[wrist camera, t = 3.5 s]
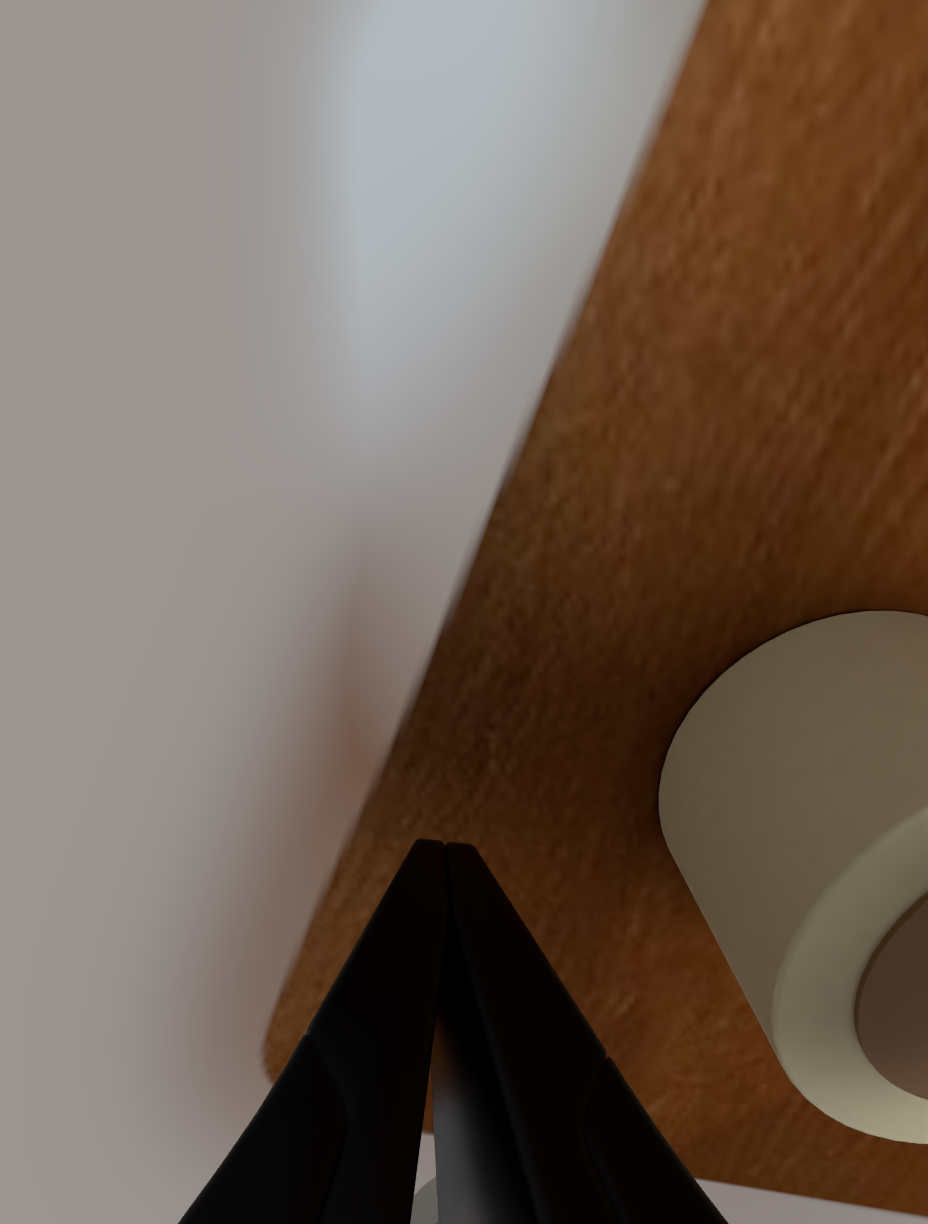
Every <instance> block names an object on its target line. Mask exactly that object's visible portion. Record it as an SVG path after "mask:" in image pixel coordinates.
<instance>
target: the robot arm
mask: <svg viewBox="0 0 928 1224" xmlns="http://www.w3.org/2000/svg"><path fill="white" fill-rule="evenodd" d="M606 1054H607V1053H606V1050H605V1048H604V1047H603V1045H602V1044H601V1042H600V1040H599V1039H598V1037H597V1036H596V1034H595V1033H594V1031H593V1030H592V1028H591V1026H590V1025H589V1023H588V1022H587V1020H586V1019H585V1017H584V1016H583V1014H582V1012H581V1011H580V1009H579V1008H578V1006H577V1005H576V1003H575V1002H574V1000H573V998H572V997H571V995H570V994H569V992H568V991H567V989H566V988H565V986H564V984H563V983H562V981H561V980H560V978H559V977H558V975H557V974H556V972H555V970H554V969H553V967H552V966H551V964H550V963H549V961H548V960H547V958H546V957H545V955H544V953H543V952H542V950H541V949H540V947H539V946H538V944H537V943H536V941H535V939H534V938H533V936H532V935H531V933H530V932H529V930H528V929H527V927H526V925H525V924H524V922H523V921H522V919H521V918H520V916H519V915H518V913H517V911H516V910H515V908H514V907H513V905H512V904H511V902H510V901H509V899H508V897H507V896H506V894H505V893H504V891H503V890H502V888H501V887H500V885H499V883H498V882H497V880H496V879H495V877H494V876H493V874H492V873H491V871H490V869H489V868H488V866H487V865H486V863H485V862H484V860H483V859H482V857H481V855H480V854H479V852H478V851H477V849H476V848H475V847H474V846H473V845H472V844H468V843H459V842H447V843H446V844H445V845H444V843H443V842H442V841H440V840H432V839H422V838H419V839H417V840H416V841H415V842H414V844H413V845H412V847H411V849H410V851H409V852H408V854H407V856H406V858H405V859H404V861H403V863H402V865H401V866H400V868H399V870H398V872H397V873H396V875H395V877H394V879H393V880H392V882H391V884H390V886H389V887H388V889H387V891H386V893H385V894H384V896H383V898H382V900H381V901H380V903H379V905H378V906H377V908H376V910H375V912H374V913H373V915H372V917H371V919H370V920H369V922H368V924H367V926H366V927H365V929H364V931H363V933H362V934H361V936H360V938H359V940H358V941H357V943H356V945H355V947H354V948H353V950H352V952H351V954H350V955H349V957H348V959H347V961H346V962H345V964H344V966H343V968H342V969H341V971H340V973H339V974H338V976H337V978H336V980H335V981H334V983H333V985H332V987H331V988H330V990H329V992H328V994H327V995H326V997H325V999H324V1001H323V1002H322V1004H321V1006H320V1008H319V1009H318V1011H317V1013H316V1015H315V1016H314V1018H313V1020H312V1022H311V1023H310V1025H309V1027H308V1029H307V1032H306V1035H304V1036H303V1037H302V1038H301V1040H300V1042H299V1043H298V1045H297V1047H296V1049H295V1050H294V1052H293V1054H292V1056H291V1057H290V1059H289V1061H288V1063H287V1064H286V1066H285V1068H284V1069H283V1071H282V1073H281V1074H280V1076H279V1077H278V1079H277V1081H276V1082H275V1084H274V1086H273V1087H272V1089H271V1090H270V1092H269V1094H268V1095H267V1097H266V1099H265V1100H264V1102H263V1104H262V1105H261V1107H260V1108H259V1110H258V1112H257V1113H256V1115H255V1116H254V1117H253V1119H252V1120H251V1122H250V1123H249V1125H248V1126H247V1128H246V1129H245V1131H244V1132H243V1133H242V1135H241V1136H240V1138H239V1139H238V1141H237V1142H236V1144H235V1145H234V1146H233V1148H232V1149H231V1151H230V1152H229V1154H228V1155H227V1157H226V1158H225V1159H224V1161H223V1162H222V1164H221V1165H220V1167H219V1168H218V1169H217V1171H216V1172H215V1174H214V1175H213V1176H212V1178H211V1179H210V1181H209V1182H208V1183H207V1185H206V1186H205V1187H204V1189H203V1190H202V1191H201V1193H200V1194H199V1196H198V1197H197V1198H196V1200H195V1201H194V1202H193V1204H192V1205H191V1206H190V1208H189V1209H188V1211H187V1212H186V1213H185V1215H184V1216H183V1217H182V1219H181V1220H180V1221H179V1223H178V1224H410V1220H411V1212H412V1205H413V1197H414V1189H415V1181H416V1172H417V1164H418V1157H419V1149H420V1141H421V1133H422V1125H423V1117H424V1109H425V1101H426V1093H427V1086H428V1078H429V1070H430V1064H431V1083H432V1102H433V1121H434V1140H435V1158H436V1178H437V1197H438V1216H439V1224H728V1222H727V1221H726V1220H725V1219H724V1217H723V1216H722V1215H721V1214H720V1212H719V1211H718V1209H717V1208H716V1207H715V1206H714V1204H713V1203H712V1202H711V1200H710V1199H709V1198H708V1196H707V1195H706V1194H705V1192H704V1191H703V1190H702V1188H701V1187H700V1186H699V1184H698V1183H697V1182H696V1180H695V1179H694V1178H693V1176H692V1175H691V1174H690V1172H689V1171H688V1169H687V1168H686V1167H685V1165H684V1164H683V1163H682V1161H681V1160H680V1159H679V1157H678V1156H677V1155H676V1153H675V1152H674V1151H673V1149H672V1148H671V1146H670V1145H669V1144H668V1142H667V1141H666V1140H665V1138H664V1137H663V1136H662V1134H661V1133H660V1131H659V1130H658V1128H657V1127H656V1125H655V1124H654V1122H653V1121H652V1119H651V1118H650V1116H649V1115H648V1113H647V1112H646V1110H645V1109H644V1107H643V1106H642V1104H641V1103H640V1102H639V1100H638V1099H637V1097H636V1096H635V1094H634V1093H633V1091H632V1090H631V1088H630V1087H629V1085H628V1084H627V1082H626V1080H625V1079H624V1077H623V1076H622V1074H621V1073H620V1071H619V1070H618V1068H617V1066H616V1065H615V1063H614V1062H613V1060H612V1059H611V1058H610V1057H606ZM605 1057H606V1058H605Z"/></svg>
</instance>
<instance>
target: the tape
mask: <svg viewBox="0 0 928 1224" xmlns="http://www.w3.org/2000/svg"><path fill="white" fill-rule="evenodd" d="M659 816H660V821H661V827H662V832H663V835H664V838H665V840H666V843H667V846H668V849H669V851H670V852H671V854H672V856H673V858H674V860H675V862H676V864H677V866H678V868H679V870H680V872H681V874H682V875H683V877H684V879H685V881H686V883H687V885H688V887H689V889H690V891H691V893H692V895H693V897H694V899H695V900H696V902H697V904H698V906H699V908H700V910H701V912H702V914H703V916H704V918H705V920H706V922H707V923H708V925H709V927H710V929H711V931H712V933H713V935H714V937H715V939H716V941H717V943H718V945H719V947H720V948H721V950H722V952H723V954H724V956H725V958H726V960H727V962H728V964H729V966H730V968H731V970H732V971H733V973H734V975H735V977H736V979H737V981H738V983H739V985H740V987H741V989H742V991H743V993H744V995H745V996H746V998H747V1000H748V1002H749V1004H750V1006H751V1008H752V1010H753V1012H754V1014H755V1016H756V1018H757V1019H758V1021H759V1023H760V1025H761V1027H762V1029H763V1031H764V1033H765V1035H766V1037H767V1039H768V1041H769V1043H770V1044H771V1046H772V1048H773V1050H774V1052H775V1054H776V1056H777V1058H778V1060H779V1062H780V1063H781V1065H782V1067H783V1069H784V1070H785V1072H786V1074H787V1076H788V1077H789V1079H790V1081H791V1082H792V1083H793V1084H794V1085H795V1086H796V1087H797V1089H798V1090H799V1091H800V1092H801V1093H802V1094H803V1096H804V1097H805V1098H806V1099H807V1100H809V1101H810V1102H811V1103H812V1104H814V1105H815V1106H816V1107H817V1108H819V1109H820V1110H821V1111H822V1112H824V1113H825V1114H826V1115H828V1116H830V1117H832V1118H834V1119H835V1120H837V1121H839V1122H841V1123H843V1124H844V1125H846V1126H849V1127H851V1128H854V1129H857V1130H859V1131H862V1132H864V1133H867V1134H870V1135H874V1136H878V1137H883V1138H887V1139H891V1140H896V1141H903V1142H911V1143H918V1144H928V616H924V615H921V614H916V613H908V612H899V611H864V612H857V613H849V614H842V615H837V616H833V617H829V618H825V619H821V620H817V621H814V622H811V623H808V624H806V625H803V626H800V627H798V628H795V629H792V630H790V631H788V632H786V633H784V634H782V635H780V636H778V637H776V638H774V639H772V640H770V641H768V642H766V643H764V644H763V645H761V646H759V647H758V648H756V649H755V650H753V651H752V652H750V653H749V654H747V655H746V656H744V657H742V658H741V659H740V660H739V661H738V662H736V663H735V664H734V665H733V666H731V667H730V668H729V669H728V670H726V671H725V672H724V673H723V674H722V675H721V676H720V677H719V678H718V679H717V680H716V681H715V682H714V683H713V684H712V685H711V686H710V687H709V688H708V689H707V690H706V691H705V692H704V693H703V694H702V696H701V697H700V698H699V699H698V701H697V702H696V703H695V704H694V706H693V707H692V708H691V710H690V711H689V712H688V714H687V716H686V717H685V719H684V720H683V722H682V724H681V725H680V727H679V729H678V730H677V732H676V734H675V737H674V739H673V741H672V743H671V746H670V748H669V750H668V752H667V756H666V759H665V763H664V766H663V770H662V774H661V781H660V788H659Z"/></svg>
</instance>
